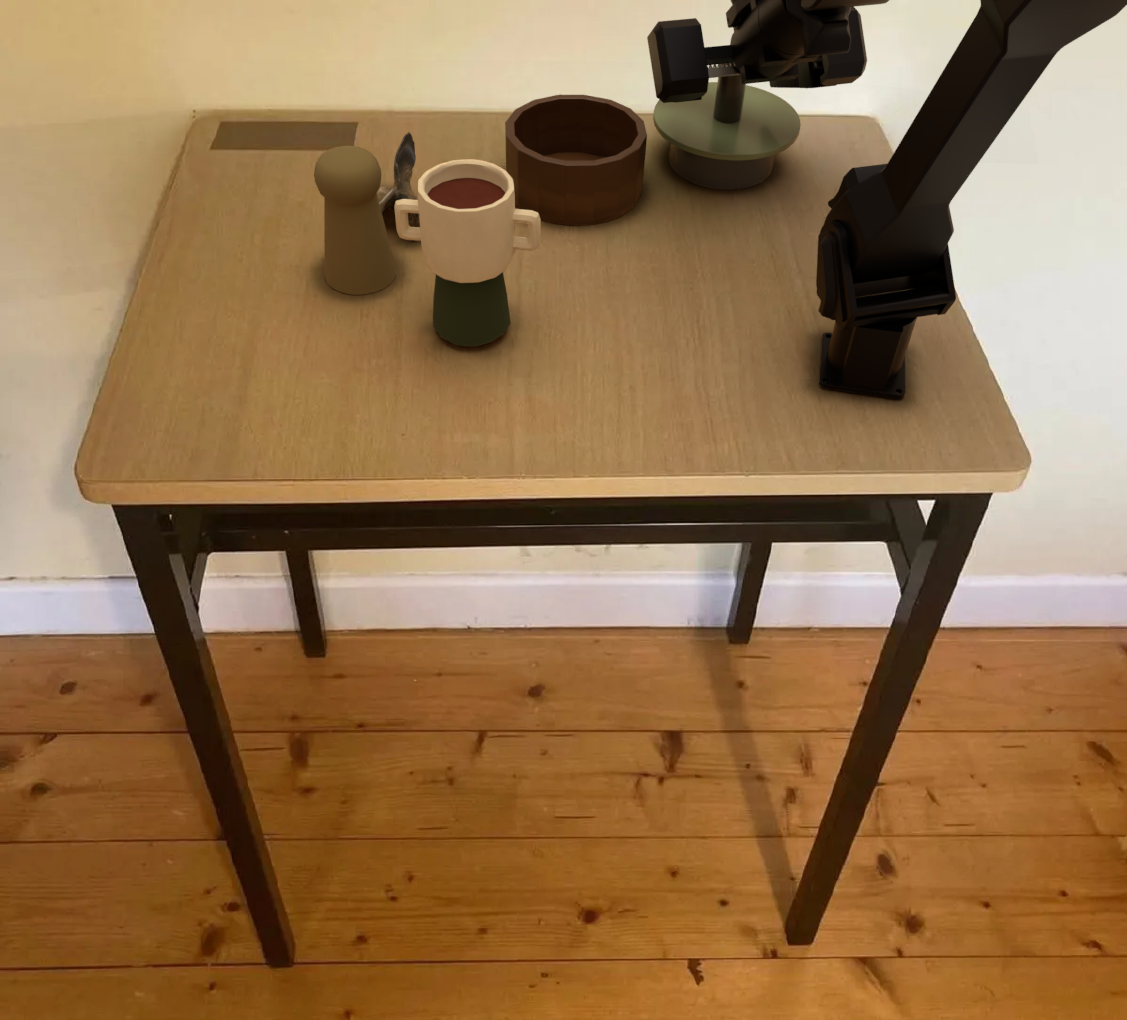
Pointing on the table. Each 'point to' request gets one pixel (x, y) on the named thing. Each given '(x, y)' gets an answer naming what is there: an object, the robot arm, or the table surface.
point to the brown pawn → (353, 222)
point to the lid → (729, 122)
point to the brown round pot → (575, 158)
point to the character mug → (468, 245)
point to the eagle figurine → (401, 180)
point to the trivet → (719, 170)
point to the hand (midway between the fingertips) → (725, 86)
